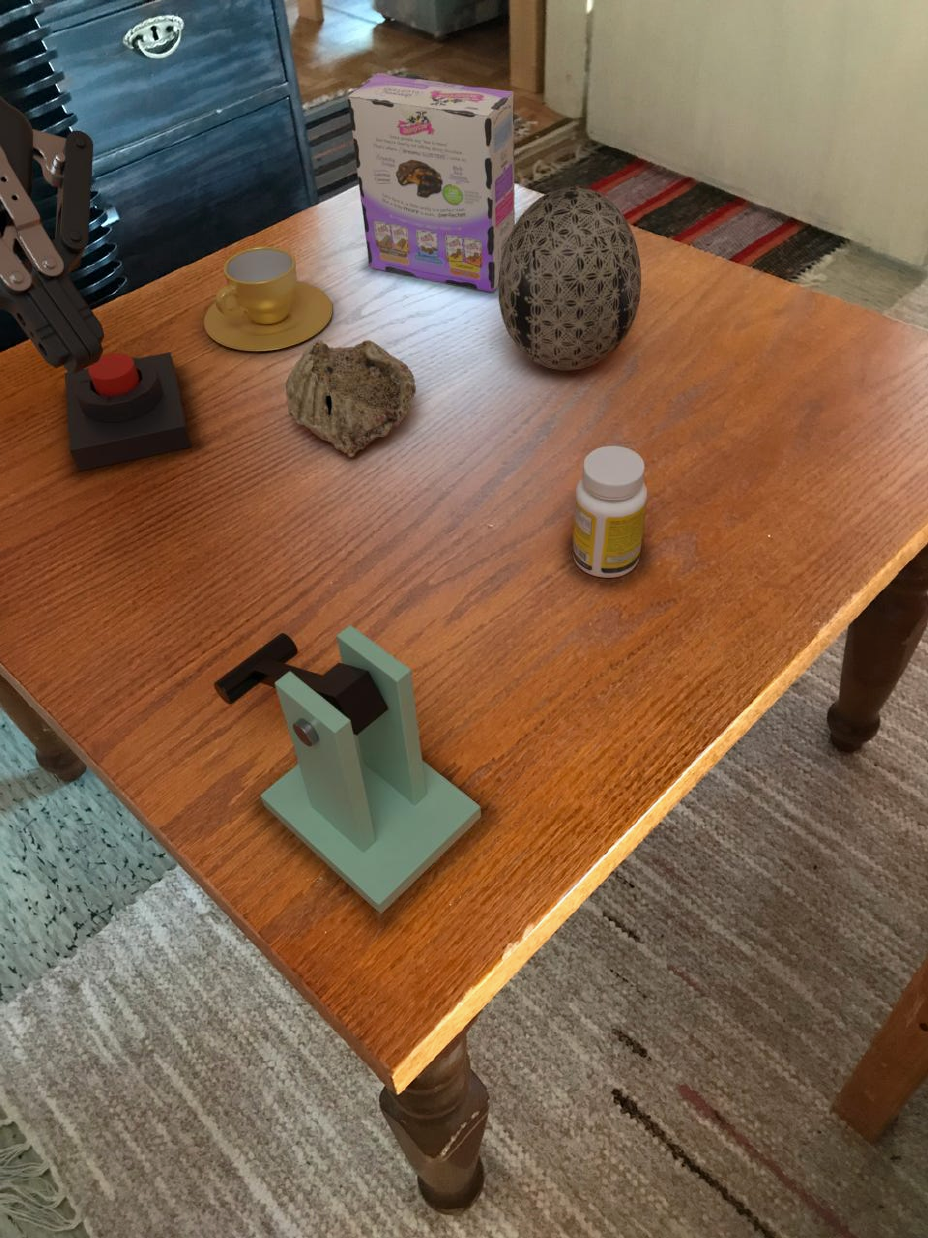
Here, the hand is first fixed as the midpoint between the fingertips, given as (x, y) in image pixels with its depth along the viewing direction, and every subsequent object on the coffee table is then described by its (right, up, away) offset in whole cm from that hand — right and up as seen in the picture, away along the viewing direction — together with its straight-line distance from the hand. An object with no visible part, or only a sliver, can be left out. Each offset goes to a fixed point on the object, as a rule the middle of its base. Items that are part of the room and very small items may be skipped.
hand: (88, 362), depth 47 cm
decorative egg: (+27, +10, +39) cm, 49 cm away
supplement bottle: (+28, -8, +23) cm, 37 cm away
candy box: (+16, +22, +51) cm, 57 cm away
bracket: (+13, -23, +10) cm, 29 cm away
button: (-10, +7, +33) cm, 35 cm away
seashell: (+9, +4, +35) cm, 36 cm away
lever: (+10, -17, +6) cm, 20 cm away
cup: (0, +16, +46) cm, 48 cm away
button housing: (-10, +5, +36) cm, 38 cm away
